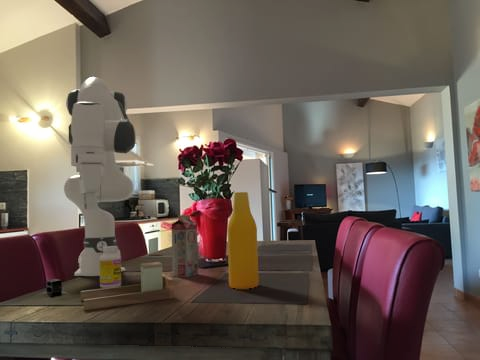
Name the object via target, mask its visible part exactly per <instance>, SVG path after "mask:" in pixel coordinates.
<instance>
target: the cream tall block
mask: <svg viewBox="0 0 480 360" xmlns="http://www.w3.org/2000/svg"><path fill="white" fill-rule="evenodd" d="M139 264H140V265H139V266H140V284H141V292H145V291H153V290H161V289H163V277H162V273H163V268H164V267H163V266H164V265H163V263H161V262H160V261H153V262H142V263H139Z"/></svg>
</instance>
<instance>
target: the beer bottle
mask: <svg viewBox="0 0 480 360" xmlns="http://www.w3.org/2000/svg"><path fill="white" fill-rule="evenodd" d="M227 250H228V251H227V253H228V256H227V257H228V260H227V261H228V285H229V288H231V289H233V288H235V290H250V289H249V288H252V289H255V288H254V287H256V288H257V287H258V286H259V282H260V280H259V279H260V277H259V257H258V256H259V255H258V227H257V223H256V221H255V218H254V216H253V215H252V212H251V207H250V201H249V194H248V192H247V191H245V192H244V191H243V192H240V191H239V192H238V191H237V192H234V193H233V207H232V213H231V216H230V219H229V220H228V224H227Z"/></svg>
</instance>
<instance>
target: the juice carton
mask: <svg viewBox="0 0 480 360" xmlns="http://www.w3.org/2000/svg"><path fill="white" fill-rule="evenodd" d="M177 217H178V218H177V220H176V221H175V222H174V223H172V224H171V258H172V262H171V263H172V277H178V278H179V277H180V278H190V277H193V276H197V275H199V255H198V253H199V251H198V250H199V249H198V245H199V244H198V243H199V242H198V223H197V222H196V221H194V220H192V219H191V214H181V215H178V216H177Z"/></svg>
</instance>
